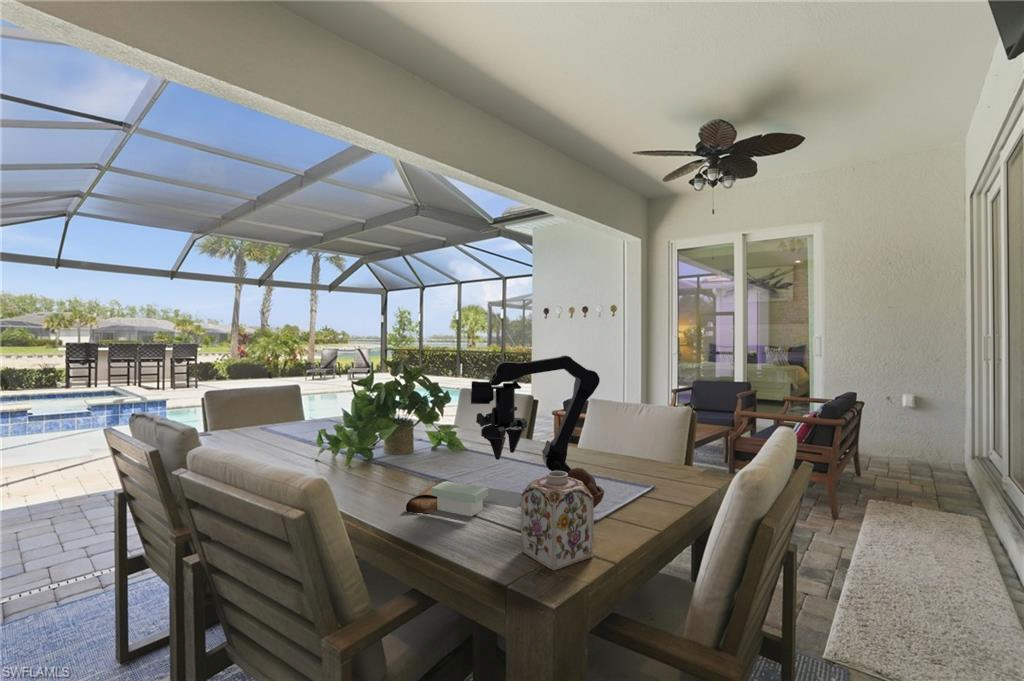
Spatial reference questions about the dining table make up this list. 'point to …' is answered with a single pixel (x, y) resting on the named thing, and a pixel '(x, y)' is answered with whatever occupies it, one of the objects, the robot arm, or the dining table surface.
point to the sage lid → (459, 491)
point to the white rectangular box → (459, 506)
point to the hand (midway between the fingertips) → (505, 456)
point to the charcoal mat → (503, 497)
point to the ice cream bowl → (588, 484)
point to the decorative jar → (557, 520)
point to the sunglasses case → (423, 502)
